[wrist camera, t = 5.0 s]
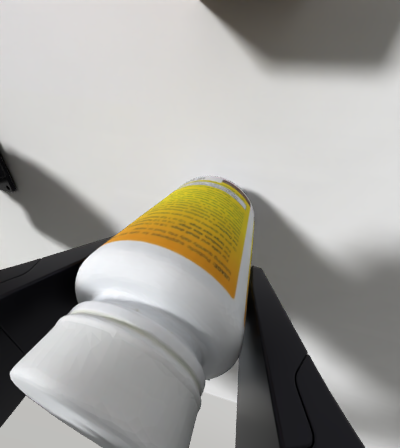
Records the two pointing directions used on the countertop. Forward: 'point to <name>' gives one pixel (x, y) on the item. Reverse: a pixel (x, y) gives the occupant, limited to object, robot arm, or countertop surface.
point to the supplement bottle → (150, 322)
